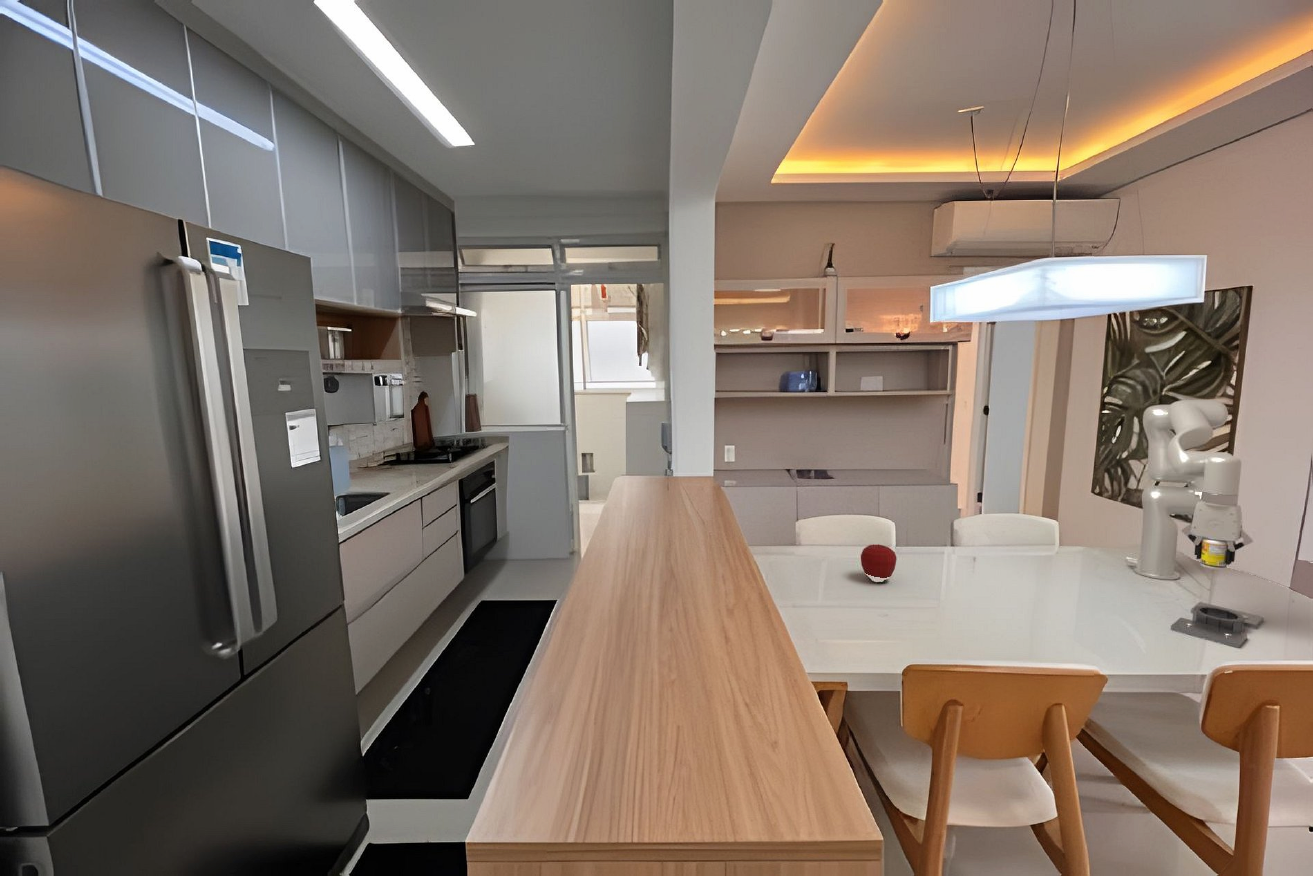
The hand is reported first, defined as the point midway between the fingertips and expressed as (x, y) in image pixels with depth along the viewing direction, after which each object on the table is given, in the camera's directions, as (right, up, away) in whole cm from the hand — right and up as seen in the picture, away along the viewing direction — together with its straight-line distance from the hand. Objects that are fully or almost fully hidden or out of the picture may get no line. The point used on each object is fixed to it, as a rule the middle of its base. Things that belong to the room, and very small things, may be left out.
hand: (1213, 560), depth 172 cm
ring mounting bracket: (0, -18, -1) cm, 18 cm away
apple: (-83, -15, +38) cm, 92 cm away
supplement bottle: (0, -2, 0) cm, 2 cm away
